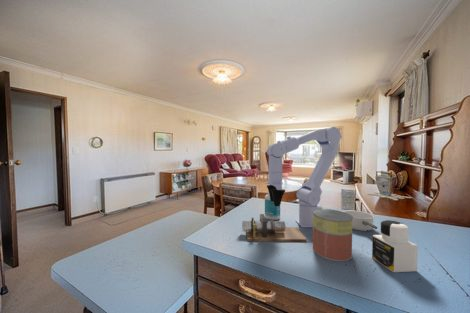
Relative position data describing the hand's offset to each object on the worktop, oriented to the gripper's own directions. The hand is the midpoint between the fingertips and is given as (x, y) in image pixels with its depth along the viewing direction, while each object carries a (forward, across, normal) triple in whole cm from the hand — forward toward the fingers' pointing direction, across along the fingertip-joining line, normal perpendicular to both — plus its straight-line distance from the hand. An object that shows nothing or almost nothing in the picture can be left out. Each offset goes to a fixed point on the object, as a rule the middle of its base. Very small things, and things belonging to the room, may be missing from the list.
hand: (275, 203), depth 81 cm
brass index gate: (+10, +8, -10) cm, 16 cm away
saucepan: (+10, +4, +35) cm, 36 cm away
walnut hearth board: (+10, +8, -2) cm, 13 cm away
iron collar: (+10, +8, -6) cm, 14 cm away
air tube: (+10, +8, -6) cm, 14 cm away
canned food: (+10, +20, +14) cm, 27 cm away
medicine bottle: (+10, +28, +28) cm, 40 cm away
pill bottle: (+10, -11, +1) cm, 15 cm away
